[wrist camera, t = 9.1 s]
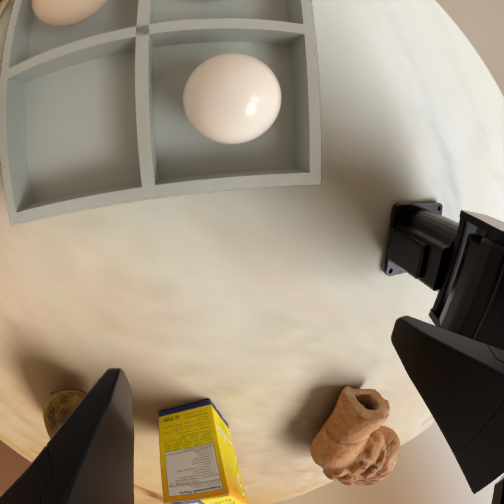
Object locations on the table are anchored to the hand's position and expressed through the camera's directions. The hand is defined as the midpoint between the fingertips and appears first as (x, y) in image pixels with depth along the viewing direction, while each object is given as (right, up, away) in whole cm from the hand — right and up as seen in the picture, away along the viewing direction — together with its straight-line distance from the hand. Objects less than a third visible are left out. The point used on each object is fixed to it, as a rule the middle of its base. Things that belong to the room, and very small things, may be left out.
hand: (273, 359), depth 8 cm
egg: (-2, +12, +7) cm, 14 cm away
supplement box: (-7, -15, +18) cm, 24 cm away
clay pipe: (+13, -21, +25) cm, 35 cm away
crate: (-7, +16, +5) cm, 18 cm away
